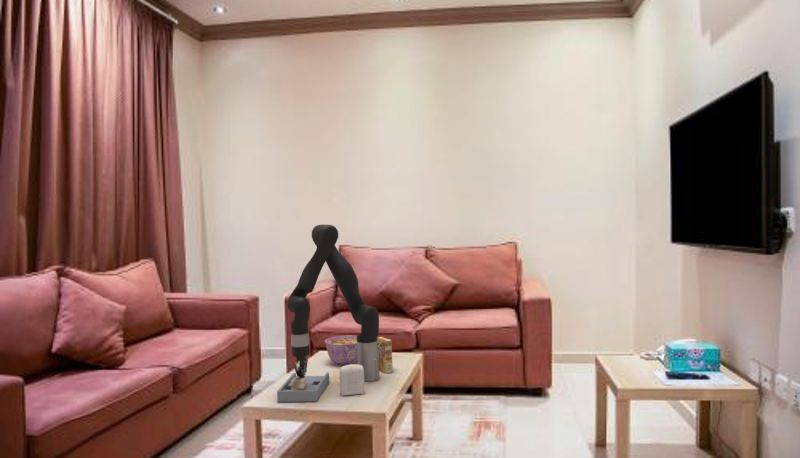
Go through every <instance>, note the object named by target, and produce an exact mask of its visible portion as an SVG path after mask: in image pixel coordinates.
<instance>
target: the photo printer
mask: <svg viewBox="0 0 800 458" xmlns="http://www.w3.org/2000/svg"><path fill="white" fill-rule="evenodd" d="M339 369H340V370H339V395H340V396H341V397H343V396H354V395H355V396H356V395H364V394H365V381H364V369H363V366H362V365H358V363H353V364H349V365H342V366H340V368H339Z"/></svg>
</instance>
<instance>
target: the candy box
mask: <svg viewBox="0 0 800 458" xmlns="http://www.w3.org/2000/svg"><path fill="white" fill-rule="evenodd" d="M377 345H378V356H379V372H382V373H383V374H390V373H393V372H394V369H393V367H394V366H393V350H392V349H393V347H392V339H390V338H386V337H384V336H378V337H377Z"/></svg>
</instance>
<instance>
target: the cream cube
mask: <svg viewBox="0 0 800 458" xmlns="http://www.w3.org/2000/svg"><path fill="white" fill-rule="evenodd" d="M305 390H307V386H306V378H294V379H293V380H292V381H291V391H305Z"/></svg>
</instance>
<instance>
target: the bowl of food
mask: <svg viewBox="0 0 800 458" xmlns="http://www.w3.org/2000/svg"><path fill="white" fill-rule="evenodd" d="M324 343H325V346H326V350H327V354H328V357H329V359H330V360H331V361H332V362H333V363H337V364H338V365H340V366H346V365H350V364H355V362H358V357H357V335H354V334H353V335H349V334H348V335H337V336H332V337H329V338H327V339H325V340H324Z"/></svg>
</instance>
